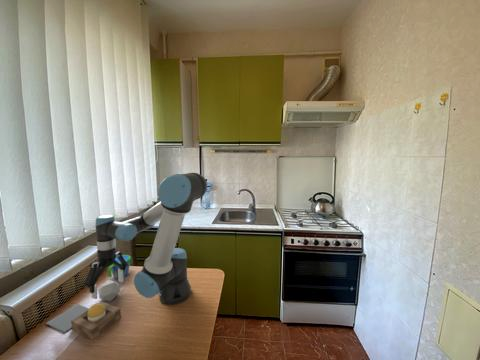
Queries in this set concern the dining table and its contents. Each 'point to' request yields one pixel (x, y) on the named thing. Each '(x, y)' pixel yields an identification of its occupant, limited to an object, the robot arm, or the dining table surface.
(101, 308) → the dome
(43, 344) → the dining table surface
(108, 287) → the die
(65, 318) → the coaster
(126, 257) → the snack cup
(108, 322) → the brown square tray
